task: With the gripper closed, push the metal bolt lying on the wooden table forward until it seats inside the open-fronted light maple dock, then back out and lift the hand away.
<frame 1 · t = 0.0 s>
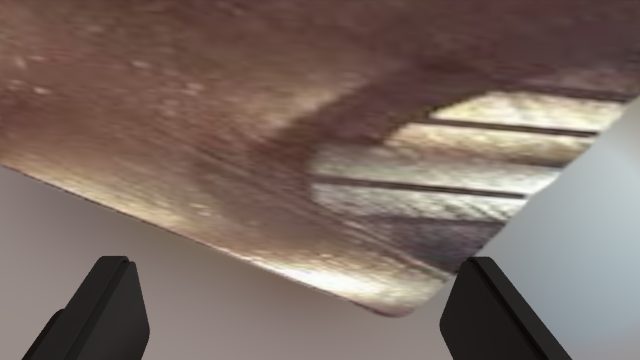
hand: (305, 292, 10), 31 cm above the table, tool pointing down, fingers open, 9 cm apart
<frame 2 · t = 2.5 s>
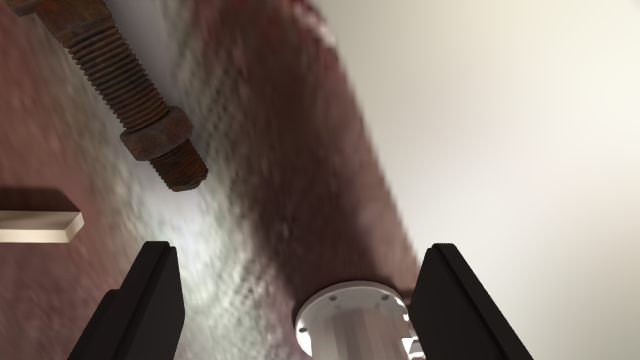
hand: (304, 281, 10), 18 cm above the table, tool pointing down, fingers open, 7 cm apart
bolt: (142, 84, 24), on the table
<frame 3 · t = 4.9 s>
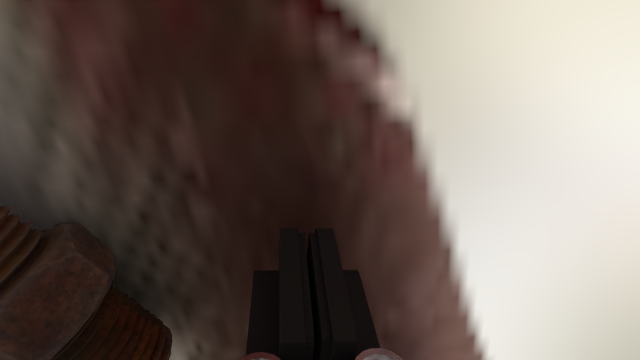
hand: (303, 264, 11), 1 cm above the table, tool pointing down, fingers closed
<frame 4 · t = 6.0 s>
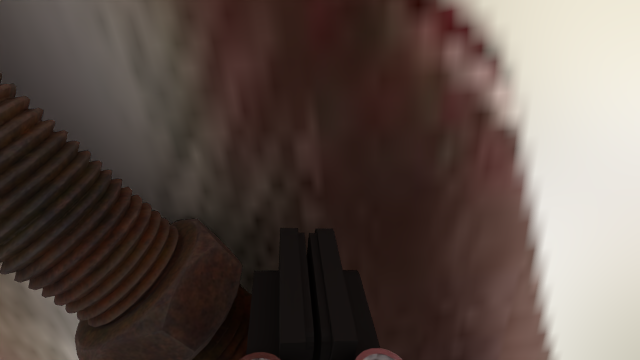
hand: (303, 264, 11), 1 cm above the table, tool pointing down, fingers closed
bolt: (115, 183, 11), on the table
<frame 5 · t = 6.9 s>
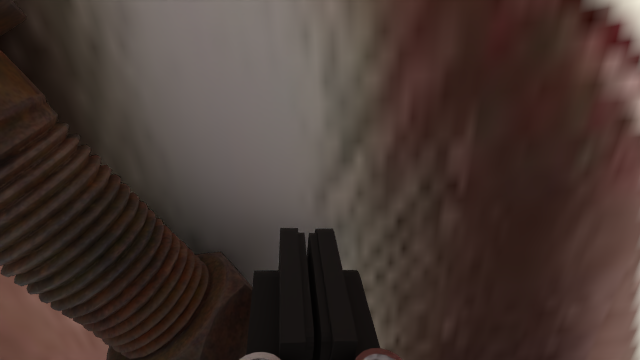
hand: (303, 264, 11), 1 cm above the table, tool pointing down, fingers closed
bolt: (147, 215, 12), on the table, touching gripper
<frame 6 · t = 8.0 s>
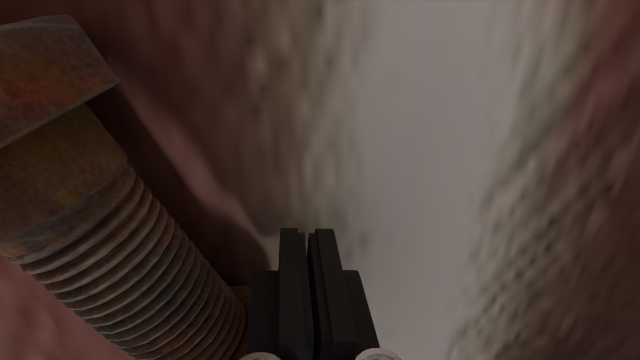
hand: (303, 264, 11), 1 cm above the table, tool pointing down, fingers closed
bolt: (185, 249, 12), on the table, touching gripper
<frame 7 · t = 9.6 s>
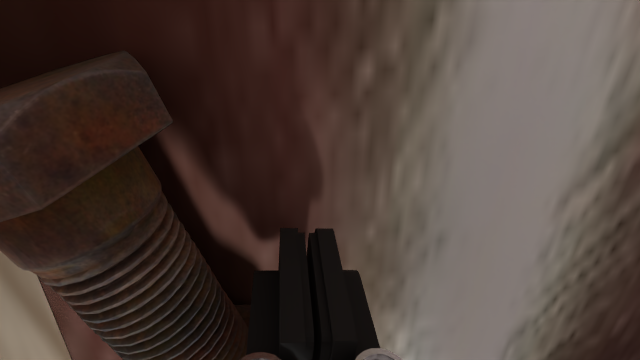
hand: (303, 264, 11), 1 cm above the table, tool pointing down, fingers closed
bolt: (193, 266, 13), on the table, touching gripper
dock: (183, 237, 12), on the table
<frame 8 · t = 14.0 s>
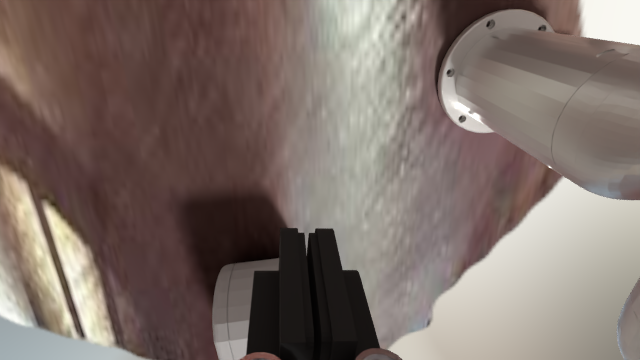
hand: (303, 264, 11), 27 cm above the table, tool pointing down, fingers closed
grey rounded box: (271, 294, 49), on the table
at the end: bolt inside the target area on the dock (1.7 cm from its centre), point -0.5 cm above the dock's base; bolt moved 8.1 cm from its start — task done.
